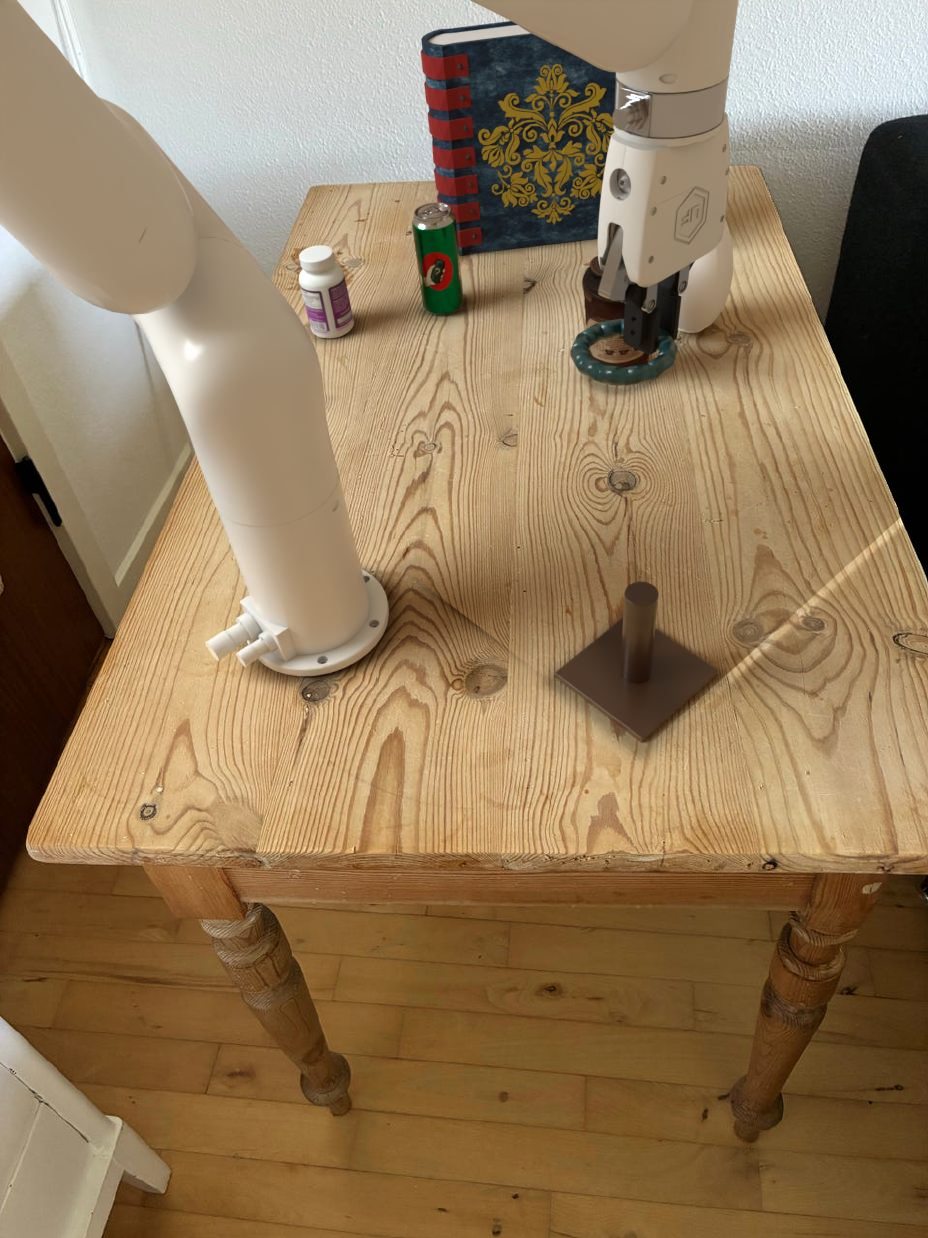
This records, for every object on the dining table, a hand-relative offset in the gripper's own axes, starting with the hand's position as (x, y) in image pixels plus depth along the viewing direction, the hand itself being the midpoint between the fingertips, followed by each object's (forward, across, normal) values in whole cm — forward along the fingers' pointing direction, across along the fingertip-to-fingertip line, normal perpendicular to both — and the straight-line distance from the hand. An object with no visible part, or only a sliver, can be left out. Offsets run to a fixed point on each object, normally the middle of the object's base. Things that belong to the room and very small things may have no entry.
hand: (649, 340), depth 78 cm
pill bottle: (+17, -1, +47) cm, 50 cm away
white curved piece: (+16, +26, +14) cm, 33 cm away
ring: (-1, -3, 0) cm, 3 cm away
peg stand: (+16, -18, -15) cm, 28 cm away
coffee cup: (+16, +14, +14) cm, 25 cm away
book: (+16, +31, +44) cm, 56 cm away
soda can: (+16, +11, +40) cm, 45 cm away
